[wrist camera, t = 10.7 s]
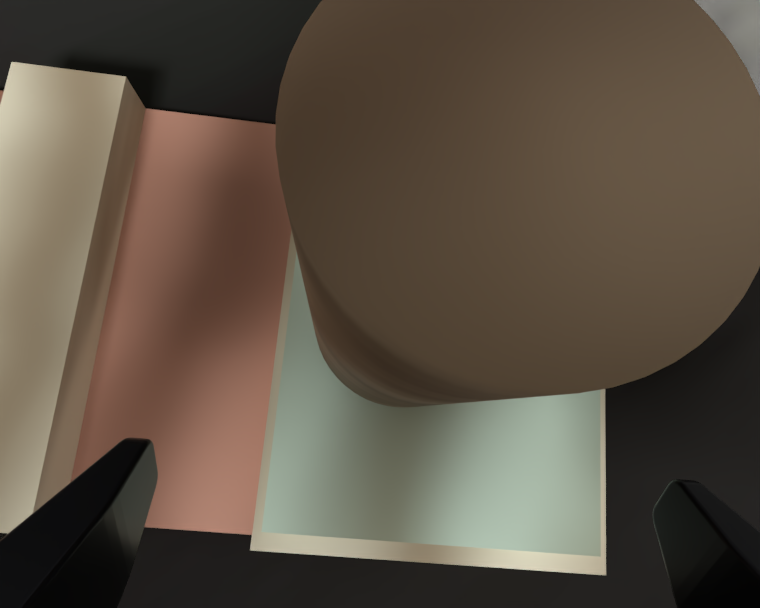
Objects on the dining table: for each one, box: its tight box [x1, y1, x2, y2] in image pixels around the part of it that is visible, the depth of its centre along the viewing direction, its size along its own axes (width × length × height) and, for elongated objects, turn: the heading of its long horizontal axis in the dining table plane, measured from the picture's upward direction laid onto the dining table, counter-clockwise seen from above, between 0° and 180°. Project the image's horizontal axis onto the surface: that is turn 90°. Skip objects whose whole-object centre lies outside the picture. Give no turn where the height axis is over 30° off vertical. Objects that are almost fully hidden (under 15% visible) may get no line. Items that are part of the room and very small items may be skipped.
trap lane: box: [0, 62, 606, 575], centre depth 15 cm, size 33×13×2 cm, turn 85°
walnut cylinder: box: [275, 0, 760, 407], centre depth 10 cm, size 5×5×10 cm
